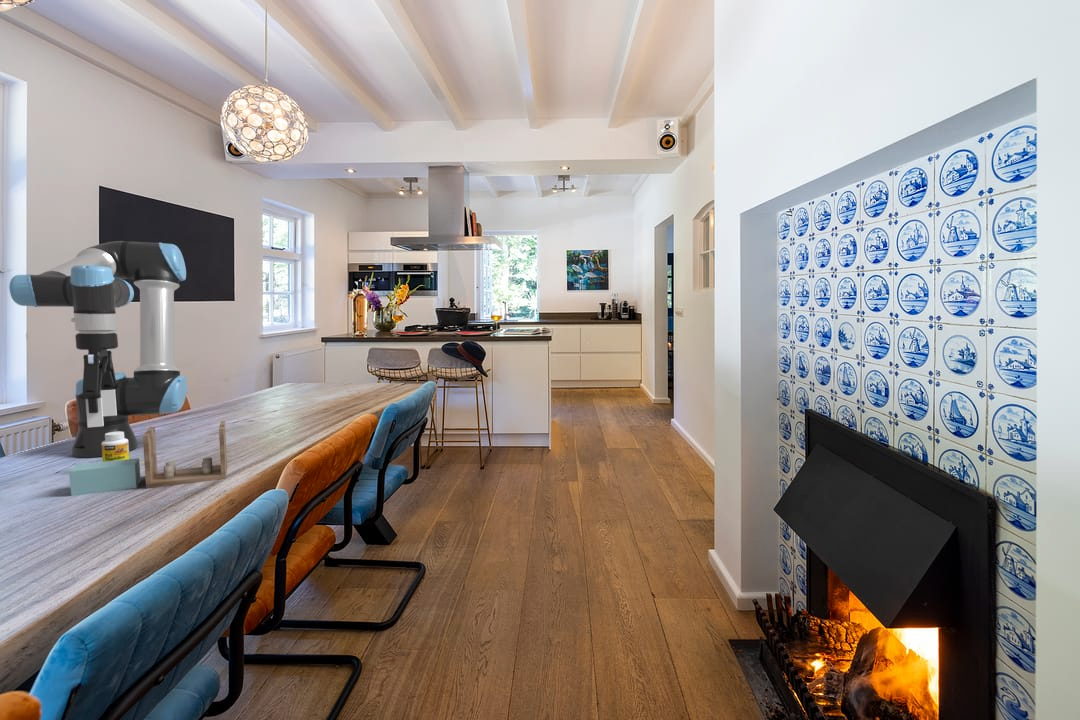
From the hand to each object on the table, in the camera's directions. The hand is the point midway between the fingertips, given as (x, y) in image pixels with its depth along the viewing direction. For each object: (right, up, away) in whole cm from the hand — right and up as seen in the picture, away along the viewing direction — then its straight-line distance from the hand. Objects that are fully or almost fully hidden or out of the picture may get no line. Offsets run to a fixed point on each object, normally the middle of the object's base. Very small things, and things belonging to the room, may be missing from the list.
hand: (103, 421), depth 123 cm
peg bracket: (+14, -16, +10) cm, 23 cm away
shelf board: (0, -17, +2) cm, 17 cm away
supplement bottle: (-9, -15, +15) cm, 23 cm away
